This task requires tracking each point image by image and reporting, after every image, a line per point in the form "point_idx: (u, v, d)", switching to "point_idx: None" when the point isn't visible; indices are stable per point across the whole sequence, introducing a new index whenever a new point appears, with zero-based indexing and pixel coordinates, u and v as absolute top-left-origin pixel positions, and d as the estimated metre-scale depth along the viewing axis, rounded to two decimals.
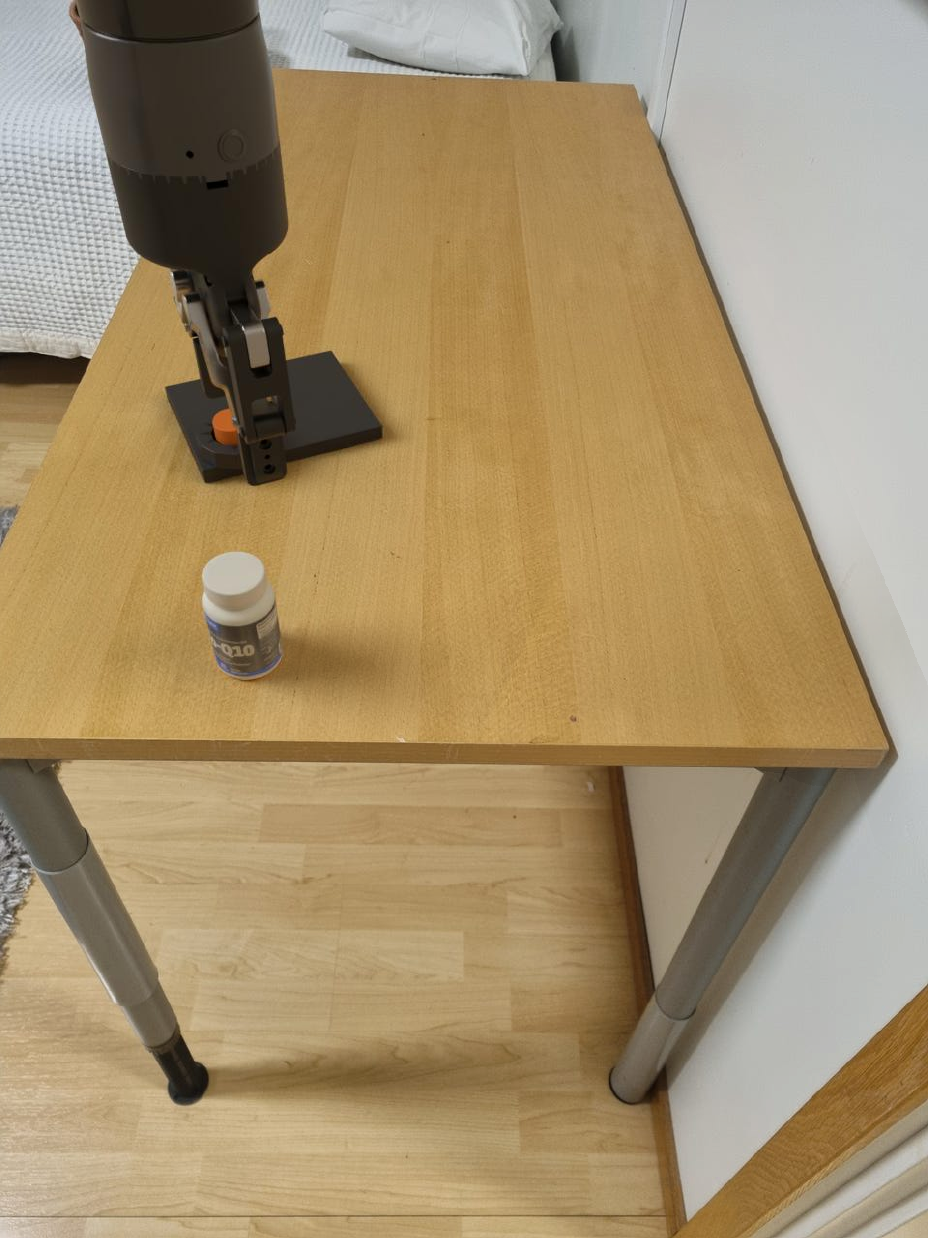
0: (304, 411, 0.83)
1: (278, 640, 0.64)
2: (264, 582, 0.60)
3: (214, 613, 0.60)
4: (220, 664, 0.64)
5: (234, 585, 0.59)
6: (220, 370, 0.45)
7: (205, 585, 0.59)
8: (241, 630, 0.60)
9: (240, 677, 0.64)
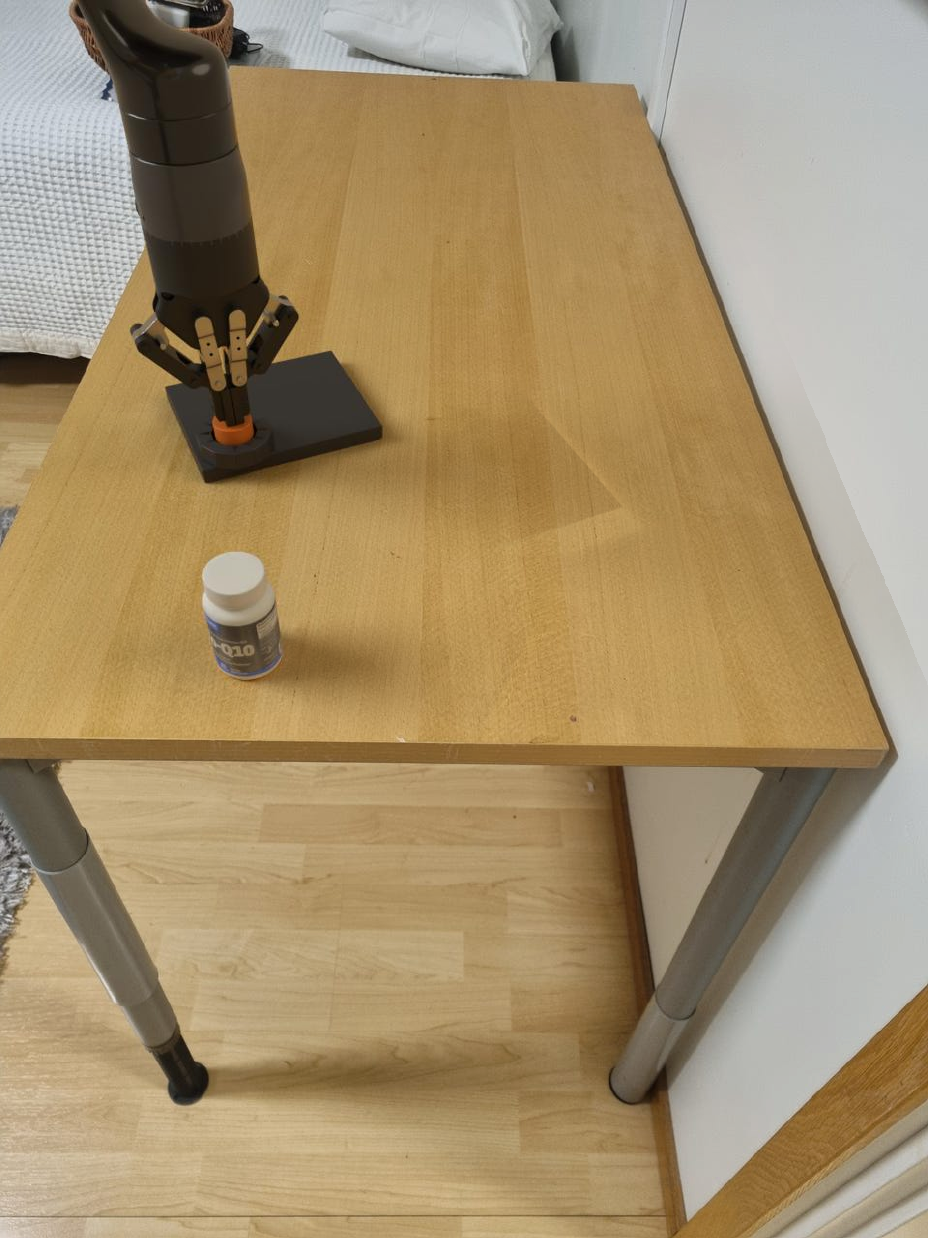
0: (304, 411, 0.83)
1: (278, 640, 0.64)
2: (264, 582, 0.60)
3: (214, 613, 0.60)
4: (220, 664, 0.64)
5: (234, 585, 0.59)
6: None
7: (205, 585, 0.59)
8: (241, 630, 0.60)
9: (240, 677, 0.64)
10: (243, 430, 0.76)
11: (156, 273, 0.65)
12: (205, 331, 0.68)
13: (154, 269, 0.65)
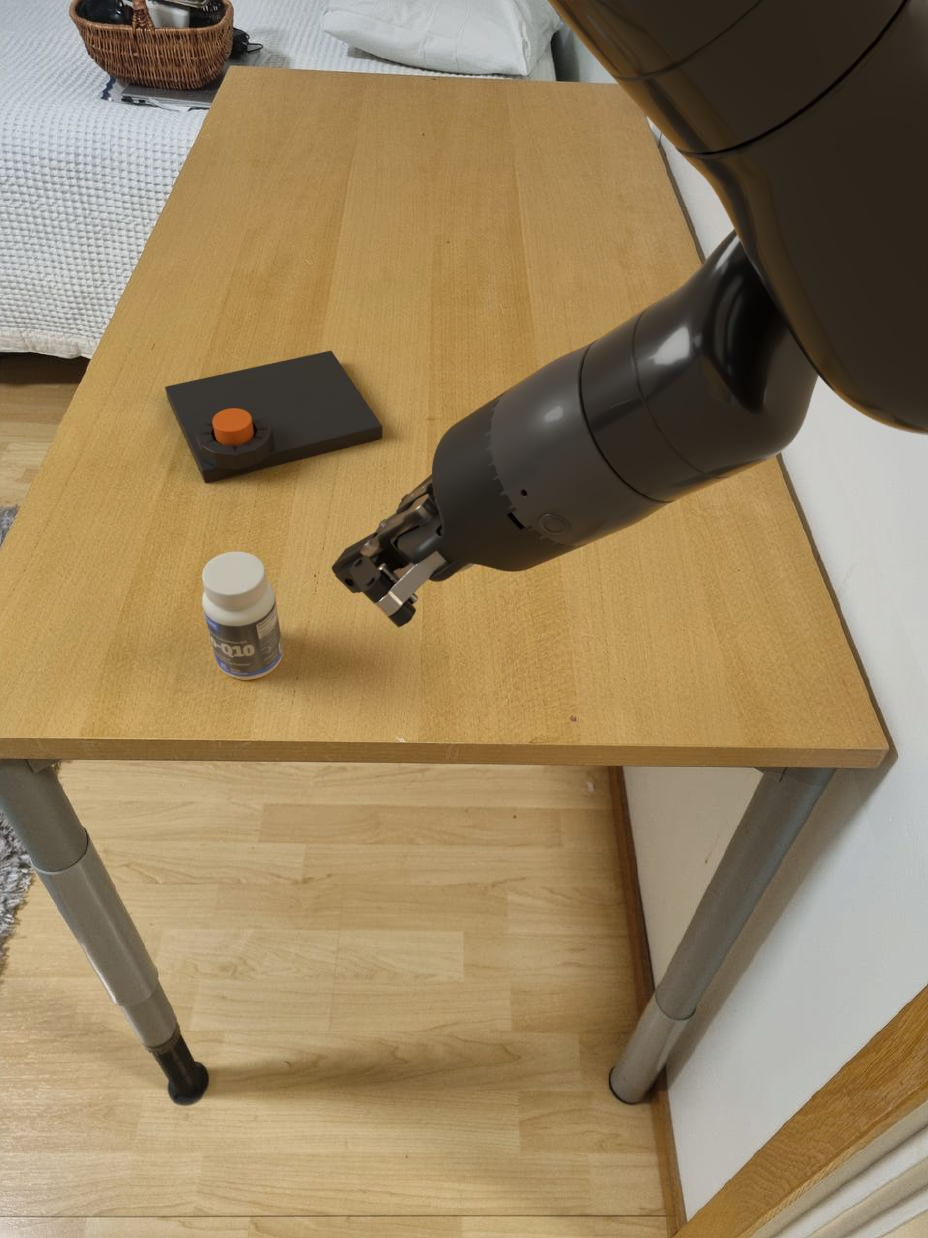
0: (304, 411, 0.83)
1: (278, 640, 0.64)
2: (264, 582, 0.60)
3: (214, 613, 0.60)
4: (220, 664, 0.64)
5: (234, 585, 0.59)
6: (386, 539, 0.46)
7: (205, 585, 0.59)
8: (241, 630, 0.60)
9: (240, 677, 0.64)
10: (243, 430, 0.76)
11: None
12: None
13: None
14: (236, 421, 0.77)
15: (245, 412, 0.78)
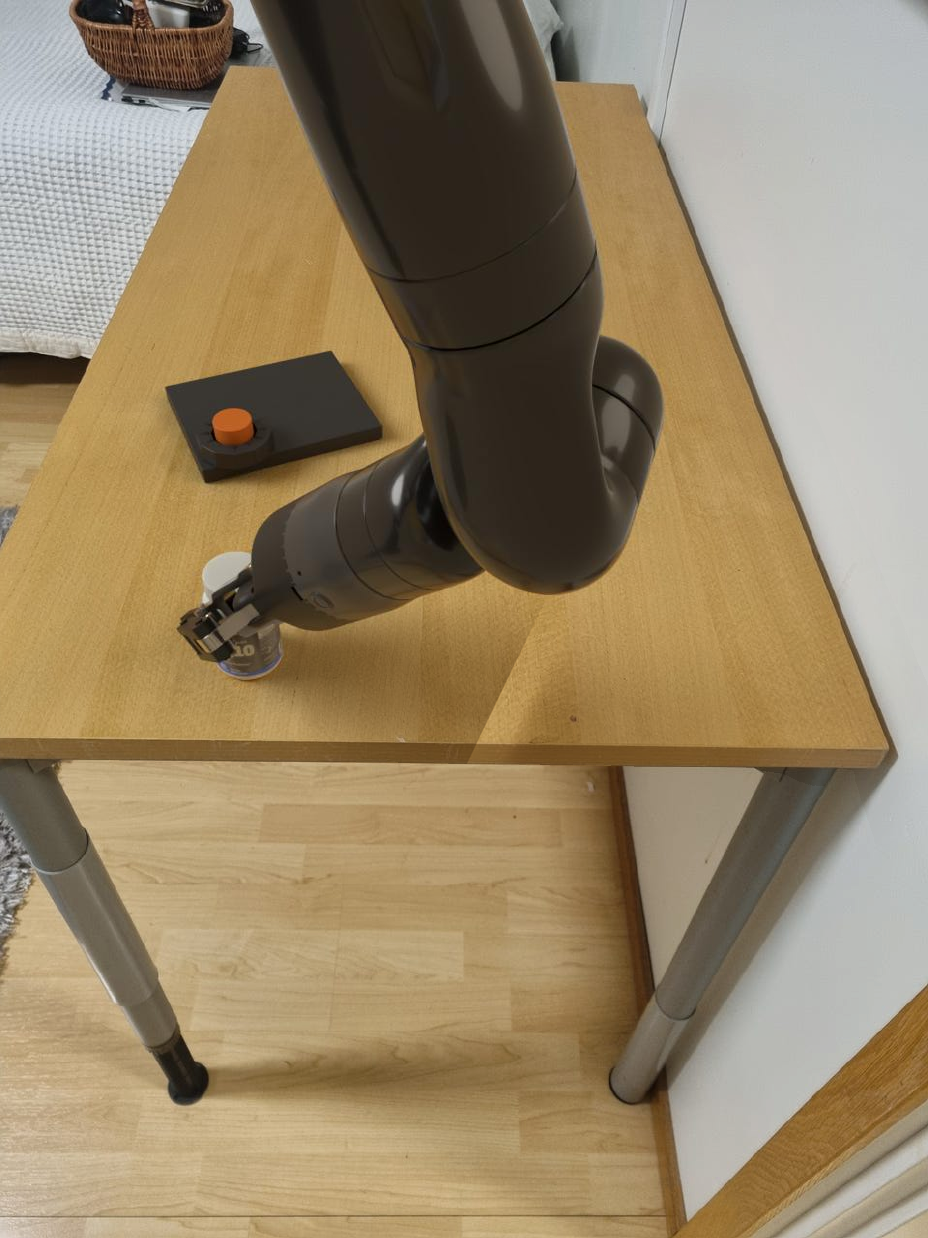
0: (304, 411, 0.83)
1: (278, 640, 0.64)
2: None
3: None
4: (220, 664, 0.64)
5: None
6: (220, 596, 0.56)
7: (205, 585, 0.59)
8: None
9: (240, 677, 0.64)
10: (243, 430, 0.76)
11: None
12: None
13: None
14: (236, 421, 0.77)
15: (245, 412, 0.78)
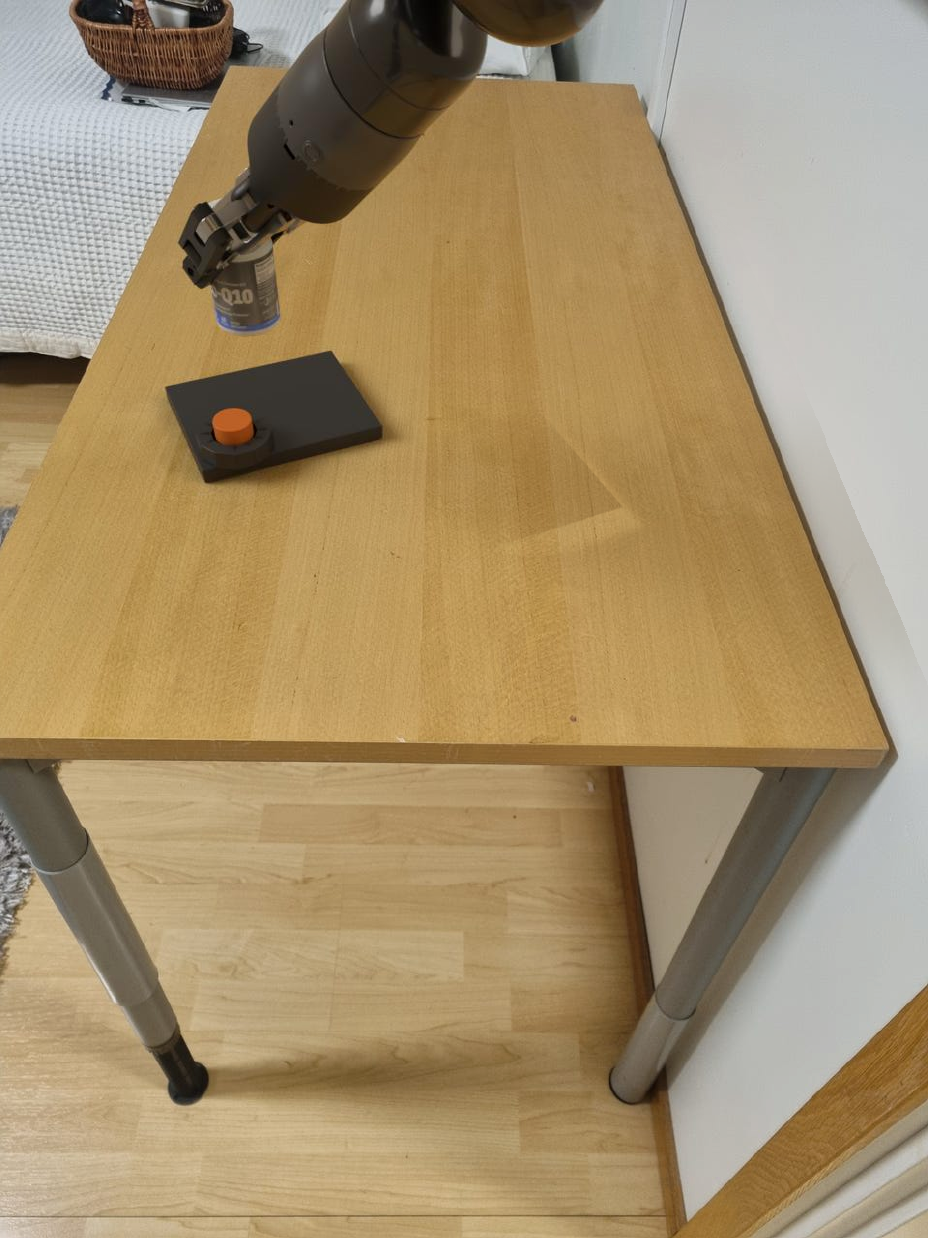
0: (304, 411, 0.83)
1: (276, 297, 0.67)
2: None
3: None
4: (221, 320, 0.67)
5: None
6: (219, 210, 0.59)
7: None
8: (240, 268, 0.64)
9: (239, 332, 0.67)
10: (243, 430, 0.76)
11: None
12: None
13: None
14: (236, 421, 0.77)
15: (245, 412, 0.78)
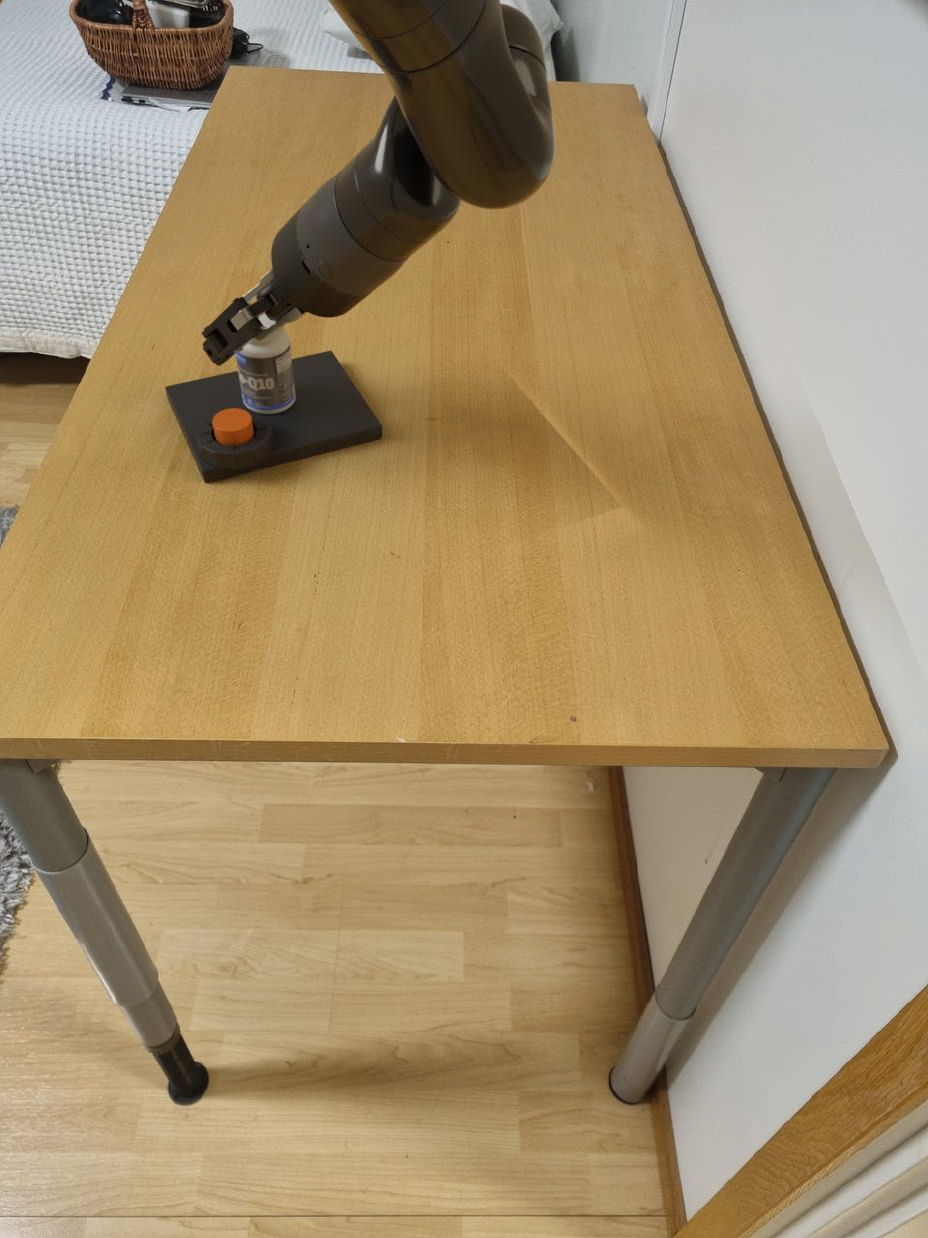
0: (304, 411, 0.83)
1: (292, 382, 0.82)
2: None
3: (244, 347, 0.78)
4: (247, 400, 0.82)
5: None
6: None
7: None
8: (264, 362, 0.78)
9: (262, 411, 0.82)
10: (243, 430, 0.76)
11: None
12: None
13: None
14: (236, 421, 0.77)
15: (245, 412, 0.78)
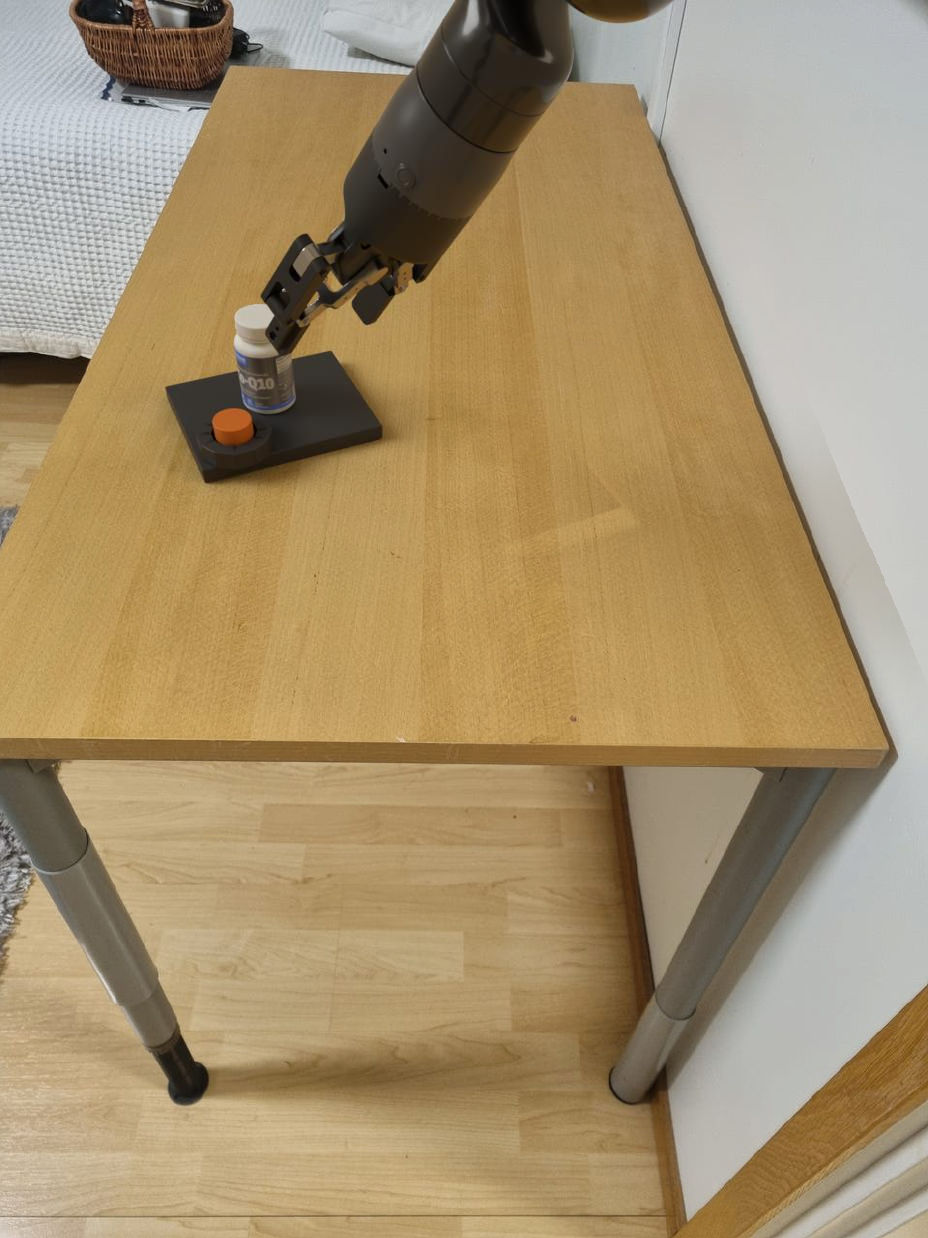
0: (304, 411, 0.83)
1: (292, 382, 0.82)
2: None
3: (244, 347, 0.78)
4: (247, 400, 0.82)
5: (259, 323, 0.77)
6: None
7: (237, 323, 0.77)
8: (264, 362, 0.78)
9: (262, 411, 0.82)
10: (243, 430, 0.76)
11: None
12: None
13: None
14: (236, 421, 0.77)
15: (245, 412, 0.78)
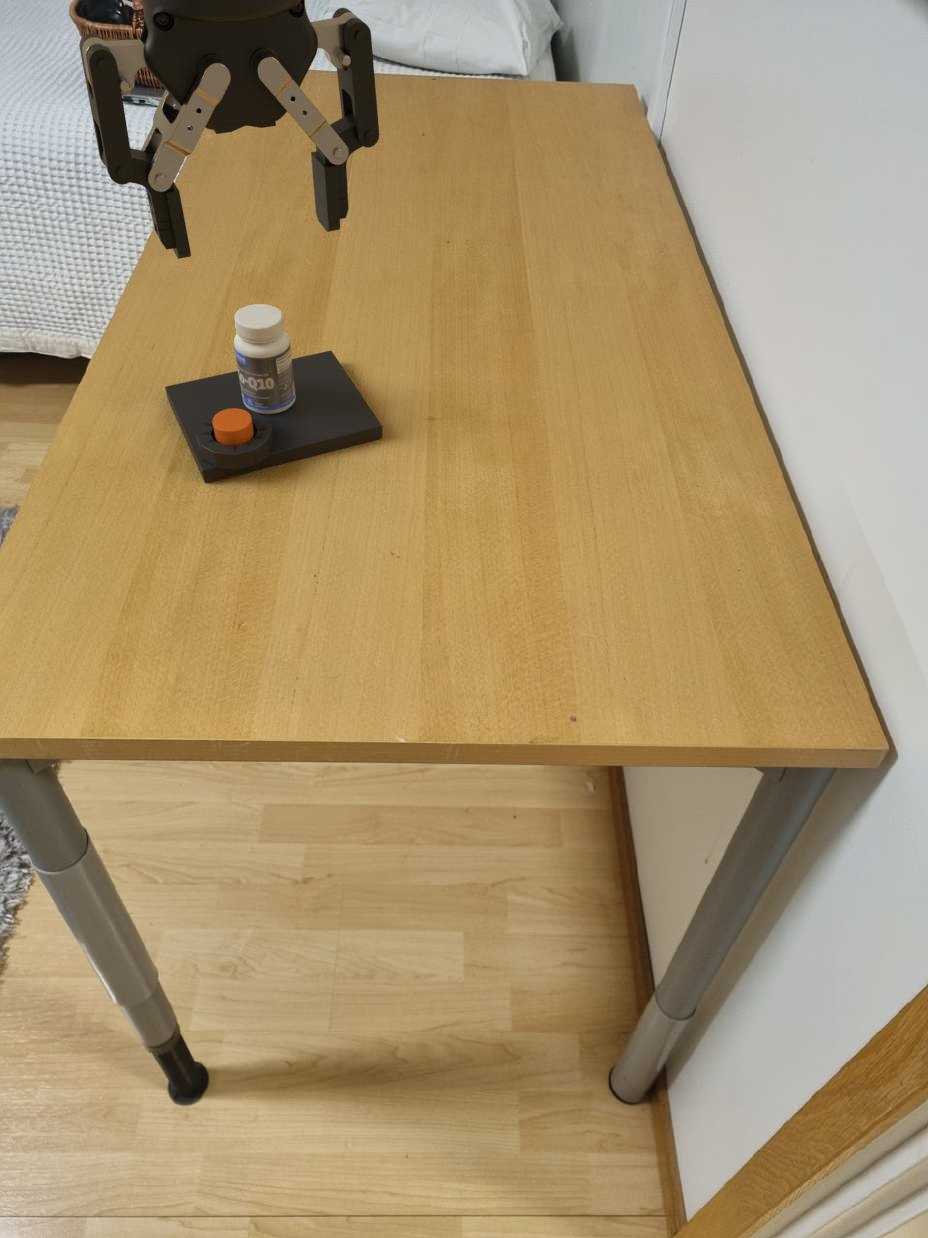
0: (304, 411, 0.83)
1: (292, 382, 0.82)
2: (282, 324, 0.78)
3: (244, 347, 0.78)
4: (247, 400, 0.82)
5: (259, 323, 0.77)
6: (159, 109, 0.47)
7: (237, 323, 0.77)
8: (264, 362, 0.78)
9: (262, 411, 0.82)
10: (243, 430, 0.76)
11: None
12: None
13: None
14: (236, 421, 0.77)
15: (245, 412, 0.78)
